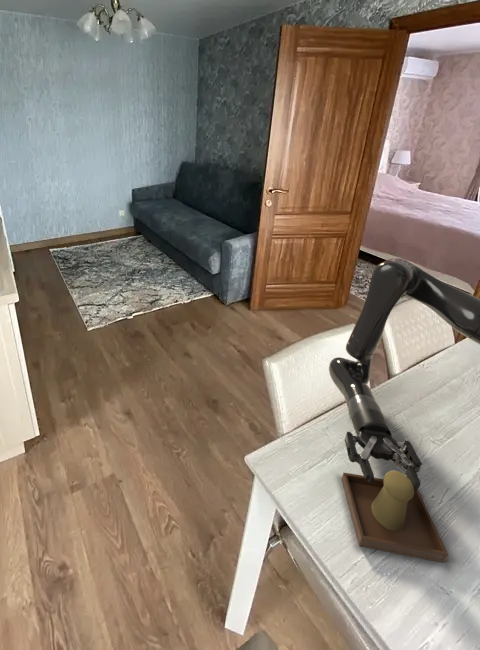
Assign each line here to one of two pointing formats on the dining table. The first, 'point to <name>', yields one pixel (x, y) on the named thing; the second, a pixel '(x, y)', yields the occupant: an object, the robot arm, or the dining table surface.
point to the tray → (410, 540)
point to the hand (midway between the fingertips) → (394, 484)
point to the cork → (393, 500)
